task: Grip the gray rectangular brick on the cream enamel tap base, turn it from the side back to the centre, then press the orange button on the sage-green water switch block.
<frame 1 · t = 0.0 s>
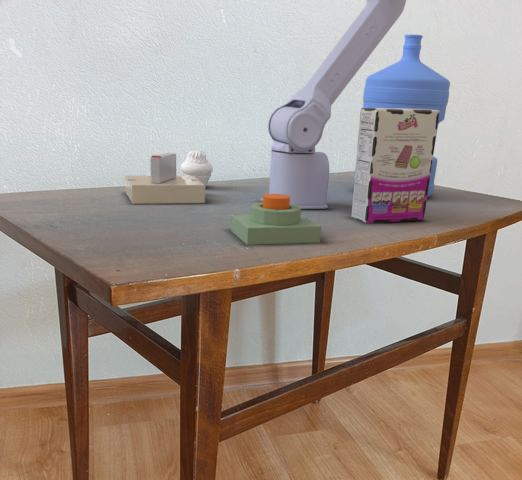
water jug: (392, 194, 118), on the table
candy bar box: (386, 220, 94), on the table
gray rectangular brick: (163, 166, 99), point 5 cm above the table, hinge at 60.0°
tap base: (164, 198, 102), on the table
muffin: (196, 188, 114), on the table
button: (276, 202, 78), point 4 cm above the table, slide at 0.1 cm
water switch: (274, 236, 80), on the table
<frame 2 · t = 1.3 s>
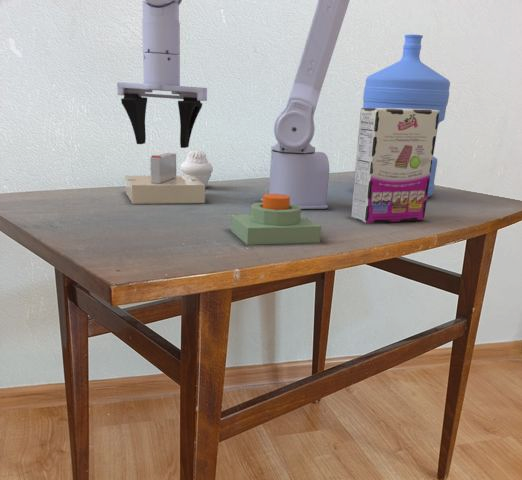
hand: (162, 145, 98), 9 cm above the table, tool pointing down, fingers open, 7 cm apart
nothing on the table moved.
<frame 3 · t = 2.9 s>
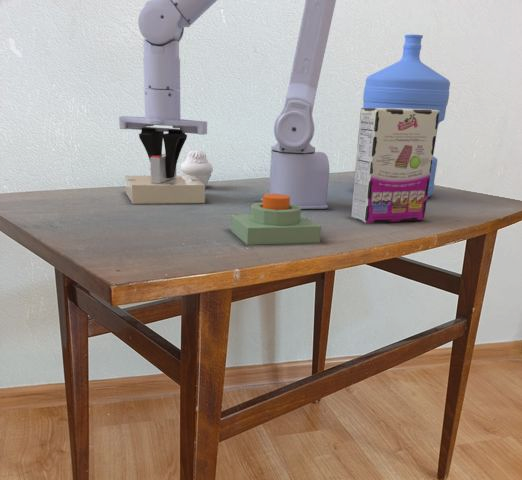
hand: (164, 177, 100), 4 cm above the table, tool pointing down, fingers closed on gray rectangular brick, 2 cm apart
gray rectangular brick: (163, 166, 99), point 5 cm above the table, hinge at 60.0°, touching gripper
everything else where it was.
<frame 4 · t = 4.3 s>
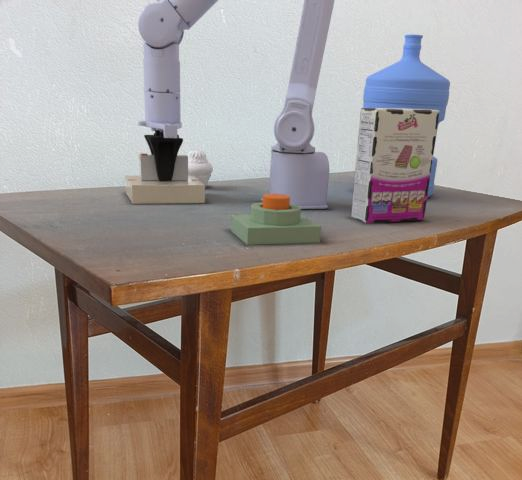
hand: (164, 179, 100), 3 cm above the table, tool pointing down, fingers closed on gray rectangular brick, 2 cm apart
gray rectangular brick: (163, 166, 99), point 5 cm above the table, hinge at 1.9°, touching gripper
everything else where it was.
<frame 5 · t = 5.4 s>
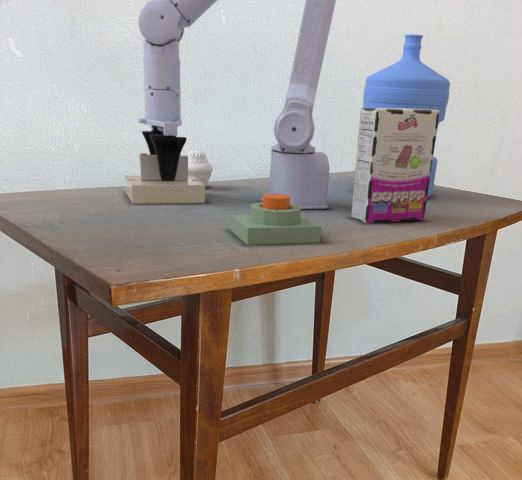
hand: (164, 177, 100), 3 cm above the table, tool pointing down, fingers open, 7 cm apart
gray rectangular brick: (163, 166, 99), point 5 cm above the table, hinge at 0.3°
everything else where it was.
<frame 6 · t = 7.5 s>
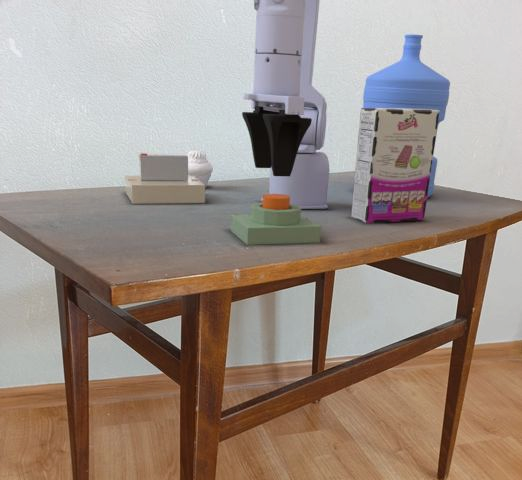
hand: (272, 171, 77), 8 cm above the table, tool pointing down, fingers open, 7 cm apart
nothing on the table moved.
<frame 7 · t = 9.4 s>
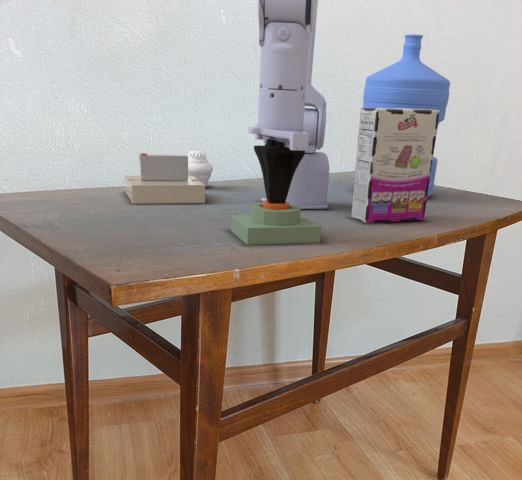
hand: (276, 202, 78), 5 cm above the table, tool pointing down, fingers closed, pressing on button
button: (275, 209, 78), point 4 cm above the table, slide at -0.7 cm, touching gripper
everything else where it was.
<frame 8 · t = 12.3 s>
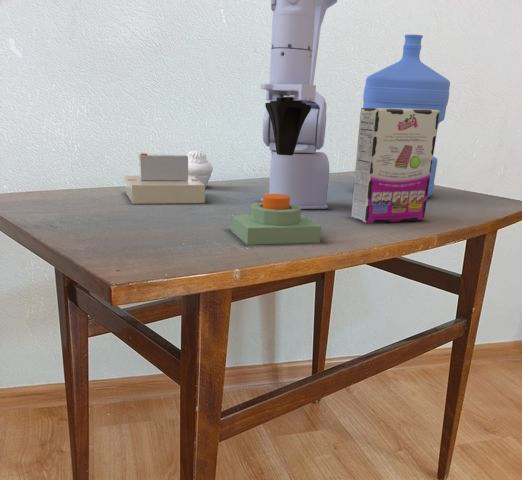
hand: (284, 155, 86), 9 cm above the table, tool pointing down, fingers closed
button: (276, 202, 78), point 4 cm above the table, slide at 0.1 cm
everything else where it was.
at the end: gray rectangular brick at +0° (first picture: +60°); button pushed in 1.2 cm at the most during the clip, back to where it started at the end; button slide at 0.1 cm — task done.
